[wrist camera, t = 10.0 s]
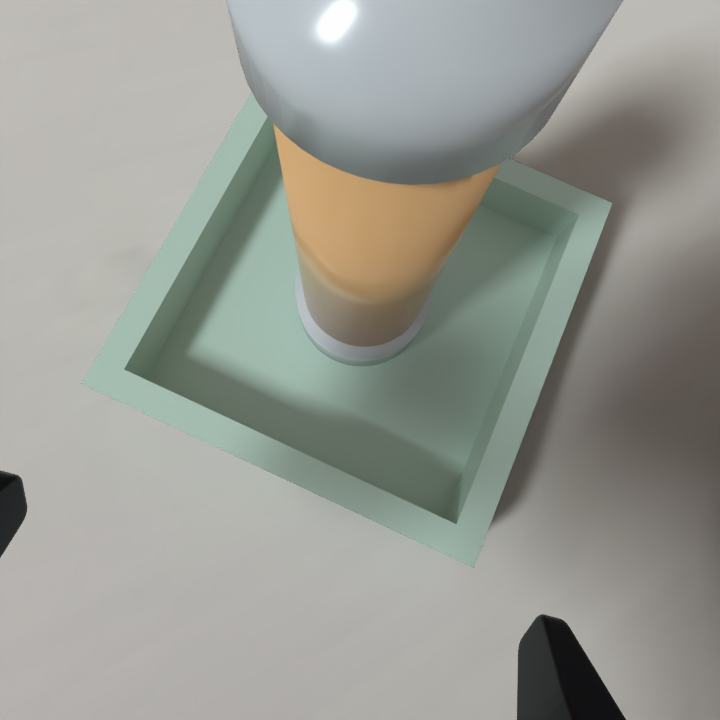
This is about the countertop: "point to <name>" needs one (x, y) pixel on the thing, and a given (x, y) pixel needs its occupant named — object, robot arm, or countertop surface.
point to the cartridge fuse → (398, 138)
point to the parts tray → (345, 382)
